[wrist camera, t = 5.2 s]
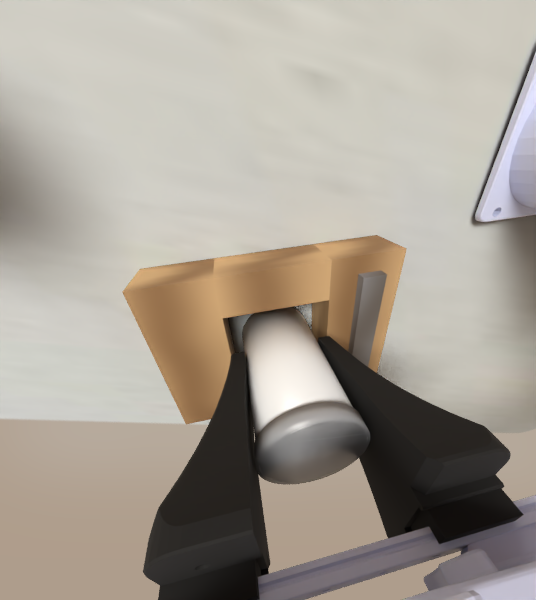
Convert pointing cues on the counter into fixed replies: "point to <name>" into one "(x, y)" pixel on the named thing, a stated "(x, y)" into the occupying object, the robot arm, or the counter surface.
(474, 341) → the counter surface
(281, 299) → the jig
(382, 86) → the counter surface
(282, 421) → the salt shaker
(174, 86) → the counter surface
